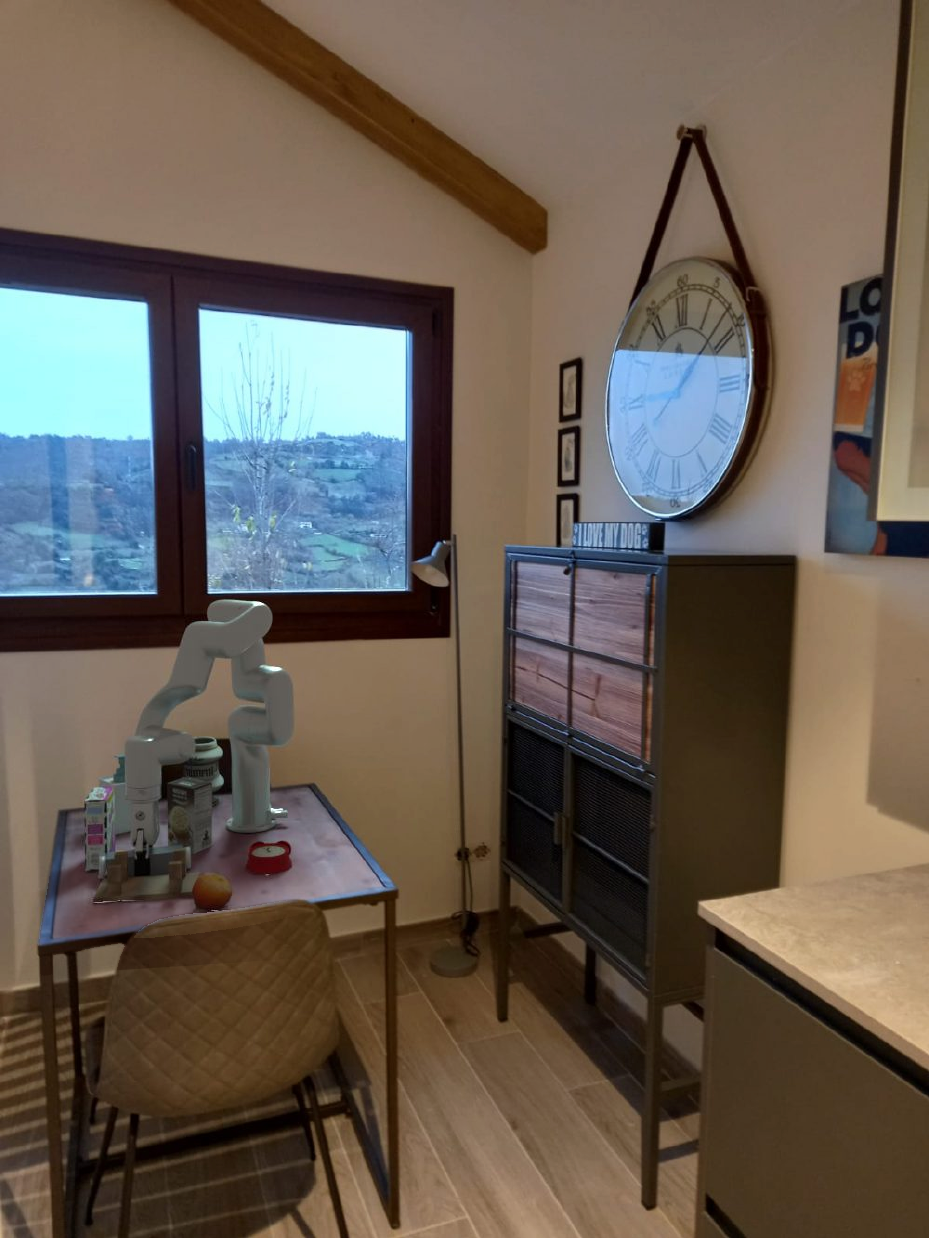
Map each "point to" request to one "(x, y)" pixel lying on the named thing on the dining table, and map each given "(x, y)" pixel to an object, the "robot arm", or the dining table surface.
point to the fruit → (211, 892)
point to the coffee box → (190, 813)
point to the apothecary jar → (205, 764)
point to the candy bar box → (99, 825)
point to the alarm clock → (269, 857)
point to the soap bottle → (119, 797)
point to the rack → (146, 881)
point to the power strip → (157, 860)
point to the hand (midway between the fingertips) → (144, 870)
